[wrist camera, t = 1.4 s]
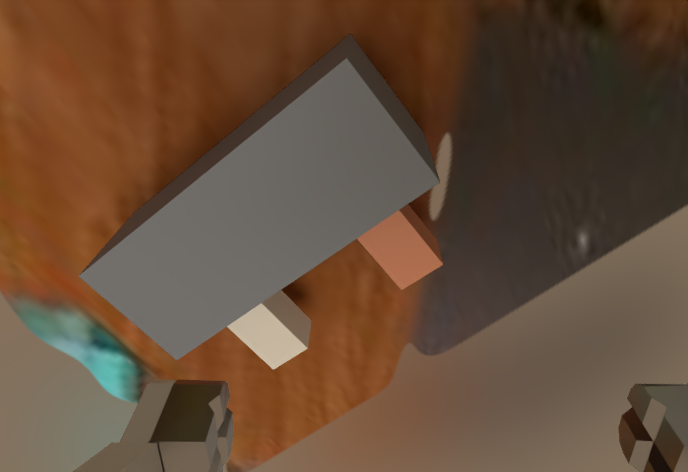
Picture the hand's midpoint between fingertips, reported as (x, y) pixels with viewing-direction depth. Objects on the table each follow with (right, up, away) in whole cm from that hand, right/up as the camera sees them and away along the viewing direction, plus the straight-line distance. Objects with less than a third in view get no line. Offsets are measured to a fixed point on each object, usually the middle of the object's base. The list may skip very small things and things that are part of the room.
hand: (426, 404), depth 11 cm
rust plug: (+1, +6, +34) cm, 34 cm away
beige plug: (-10, -2, +38) cm, 40 cm away
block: (-8, +8, +38) cm, 40 cm away
